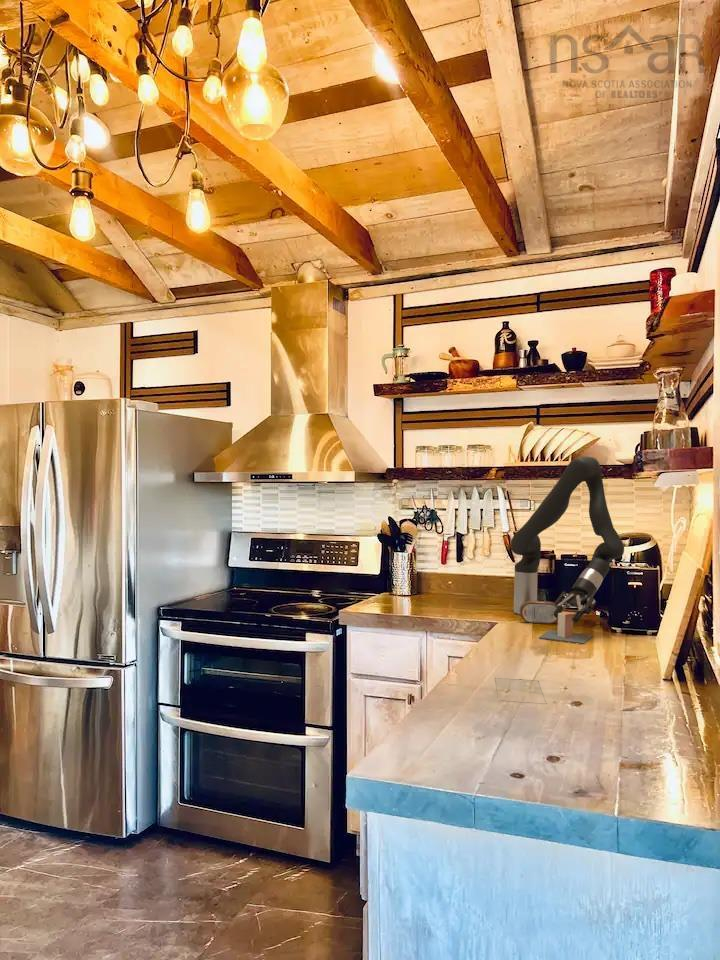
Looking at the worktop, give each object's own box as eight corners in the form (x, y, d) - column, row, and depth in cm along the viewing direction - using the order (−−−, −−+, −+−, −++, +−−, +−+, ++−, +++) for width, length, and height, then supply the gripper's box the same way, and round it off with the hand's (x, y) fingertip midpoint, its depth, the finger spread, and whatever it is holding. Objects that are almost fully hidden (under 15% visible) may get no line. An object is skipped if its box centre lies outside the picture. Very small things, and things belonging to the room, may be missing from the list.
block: (557, 636, 239) (558, 613, 239) (566, 634, 241) (566, 612, 241) (564, 637, 237) (564, 614, 237) (572, 636, 239) (573, 613, 239)
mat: (548, 631, 249) (548, 629, 249) (591, 636, 242) (591, 635, 242) (539, 638, 236) (539, 637, 236) (583, 644, 229) (584, 643, 229)
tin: (558, 623, 264) (559, 601, 264) (560, 624, 261) (561, 602, 261) (519, 621, 266) (519, 599, 266) (520, 623, 262) (520, 601, 262)
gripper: (567, 574, 249) (543, 608, 243) (599, 579, 237) (575, 615, 231) (576, 587, 252) (554, 621, 246) (609, 594, 240) (585, 629, 234)
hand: (564, 618), depth 239 cm, fingers open, 8 cm apart
